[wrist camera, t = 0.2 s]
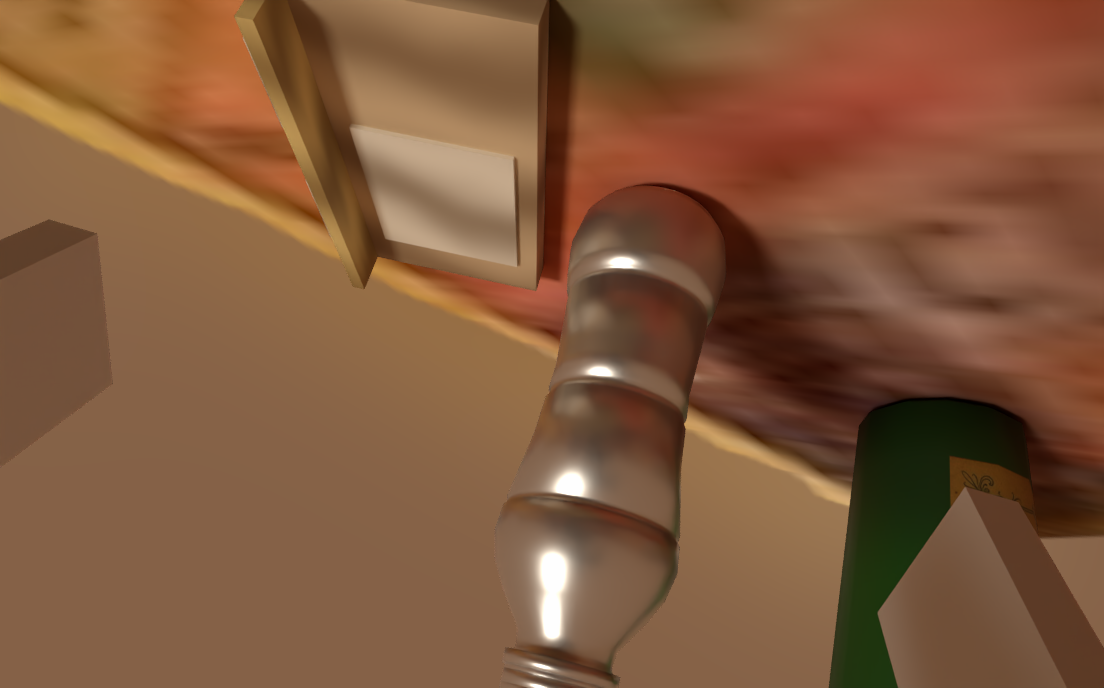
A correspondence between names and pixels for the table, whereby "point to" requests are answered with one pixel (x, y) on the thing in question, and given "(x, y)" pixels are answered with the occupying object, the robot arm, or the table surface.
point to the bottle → (913, 510)
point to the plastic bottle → (609, 441)
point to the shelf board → (415, 126)
